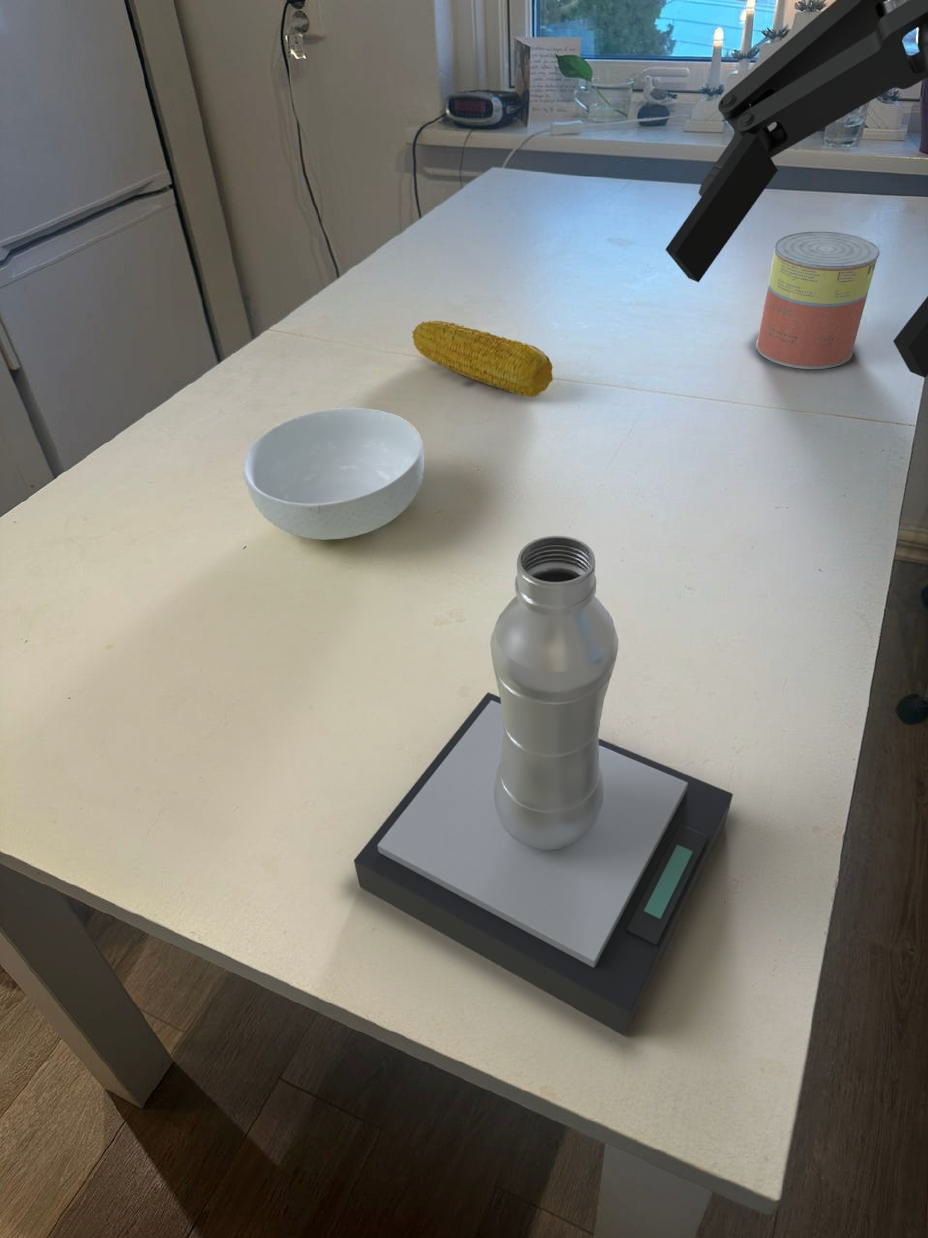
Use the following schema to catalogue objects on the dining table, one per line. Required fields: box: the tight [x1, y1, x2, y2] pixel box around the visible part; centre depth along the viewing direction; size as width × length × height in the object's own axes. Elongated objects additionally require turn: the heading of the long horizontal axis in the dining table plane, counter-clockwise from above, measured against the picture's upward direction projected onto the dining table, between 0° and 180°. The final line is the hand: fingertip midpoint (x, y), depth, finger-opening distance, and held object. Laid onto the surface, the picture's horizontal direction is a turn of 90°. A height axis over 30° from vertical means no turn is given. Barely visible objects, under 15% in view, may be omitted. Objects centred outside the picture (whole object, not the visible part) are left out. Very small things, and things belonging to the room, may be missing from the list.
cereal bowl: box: [242, 407, 425, 541], centre depth 83 cm, size 17×17×7 cm
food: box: [411, 320, 554, 398], centre depth 104 cm, size 21×6×6 cm, turn 48°
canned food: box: [755, 231, 880, 370], centre depth 103 cm, size 11×11×12 cm
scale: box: [353, 691, 734, 1037], centre depth 55 cm, size 18×16×4 cm
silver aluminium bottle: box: [489, 535, 619, 850], centre depth 47 cm, size 6×7×20 cm
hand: (782, 308), depth 41 cm, fingers open, 13 cm apart
